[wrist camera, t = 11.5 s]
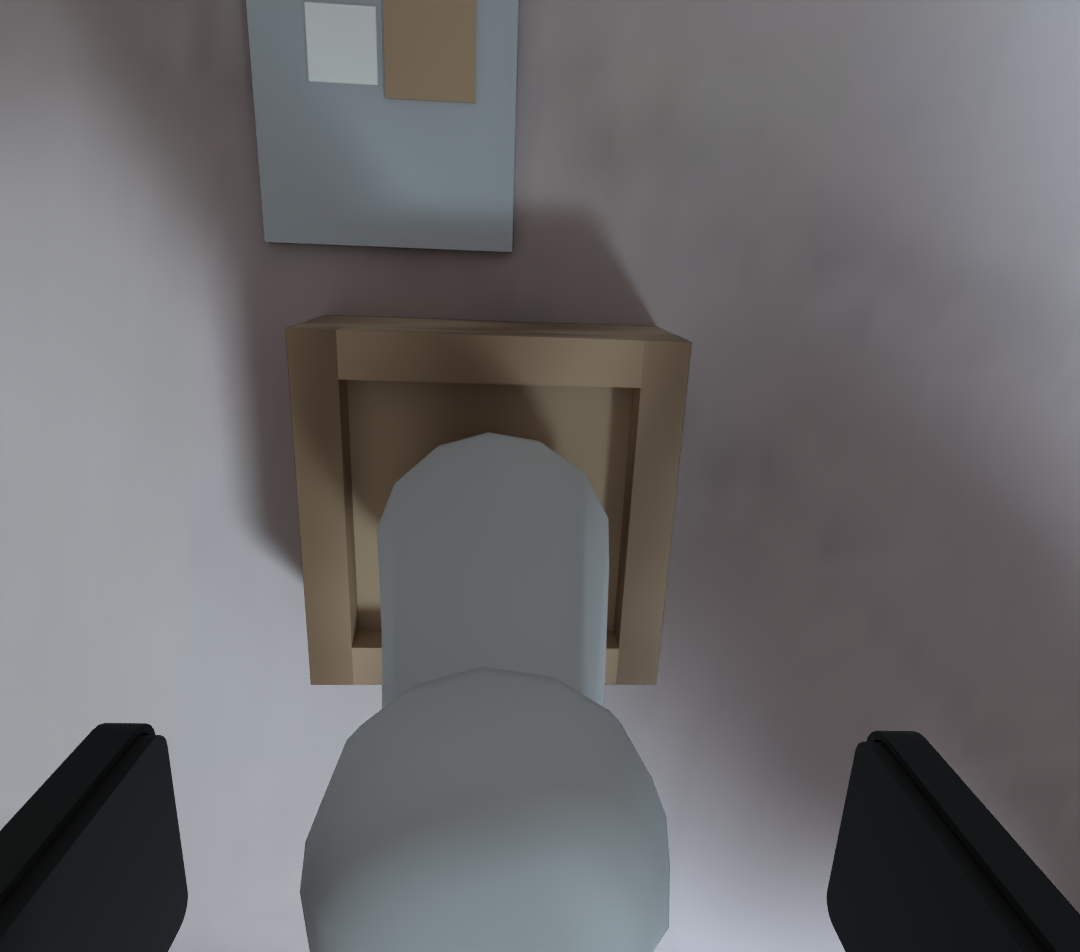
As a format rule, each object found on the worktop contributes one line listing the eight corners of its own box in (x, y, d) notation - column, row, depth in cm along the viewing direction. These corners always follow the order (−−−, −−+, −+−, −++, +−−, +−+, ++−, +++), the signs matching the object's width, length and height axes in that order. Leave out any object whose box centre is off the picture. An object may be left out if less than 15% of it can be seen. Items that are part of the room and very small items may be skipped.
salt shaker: (596, 600, 20) (746, 1125, 8) (402, 611, 20) (252, 1170, 8) (595, 407, 19) (783, 703, 6) (382, 417, 18) (145, 744, 6)
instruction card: (522, -169, 17) (522, -179, 17) (512, 252, 20) (512, 252, 20) (235, -193, 17) (228, -203, 16) (267, 241, 20) (263, 241, 19)
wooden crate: (656, 326, 21) (691, 342, 17) (631, 616, 24) (656, 684, 20) (325, 315, 20) (285, 328, 17) (341, 615, 23) (311, 684, 20)
